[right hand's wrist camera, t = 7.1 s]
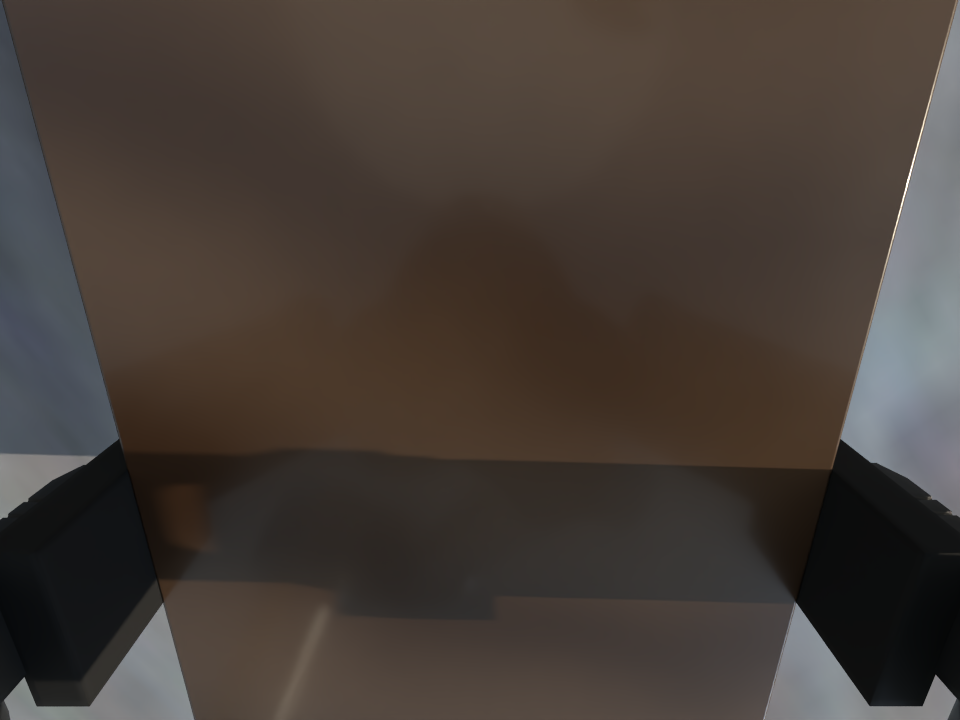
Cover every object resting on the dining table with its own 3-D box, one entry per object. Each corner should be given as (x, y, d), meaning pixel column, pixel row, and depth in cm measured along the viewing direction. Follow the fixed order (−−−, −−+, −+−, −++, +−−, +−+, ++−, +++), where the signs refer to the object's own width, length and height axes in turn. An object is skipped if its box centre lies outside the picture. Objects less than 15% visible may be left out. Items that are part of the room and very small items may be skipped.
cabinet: (248, -326, 13) (-517, -1916, 3) (713, -327, 13) (1482, -1929, 3) (334, 464, 21) (200, 747, 11) (625, 464, 21) (759, 747, 11)
